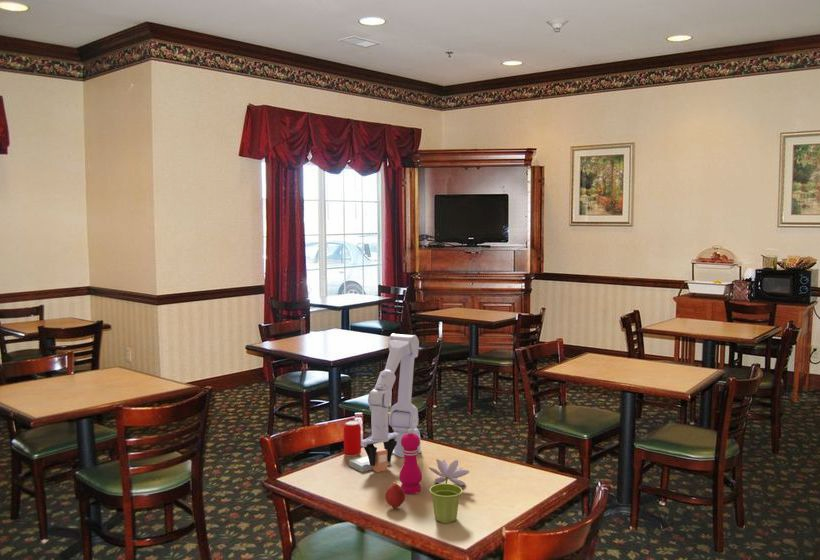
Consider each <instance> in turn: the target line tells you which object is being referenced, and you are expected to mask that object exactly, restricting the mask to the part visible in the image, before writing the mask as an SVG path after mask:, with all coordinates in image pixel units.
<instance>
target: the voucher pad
mask: <svg viewBox="0 0 820 560" xmlns="http://www.w3.org/2000/svg"><path fill="white" fill-rule="evenodd" d="M391 464H392V459H391V460H390V462H388V461H387V465H388V466H390V465H391ZM351 466H352V468H353V467H354V468H353V469H356V470H357V471H359V472H361V473H364V471H365V472H368V470H369V471H371V470H372V469H373V466H372V465H370V462H369V458H368V455H366V456H361V457H357V458H353V459H350V460H349V467H351Z"/></svg>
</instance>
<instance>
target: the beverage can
mask: <svg viewBox="0 0 820 560" xmlns="http://www.w3.org/2000/svg"><path fill="white" fill-rule="evenodd" d="M361 427H362V426H361V425H360V423H359V422H358V421H355V420H352V421H351V420H350V421H347V422H345V424H344V426H343V454H344V456H347V457H349V456H350V457H351V458H353V457H354V456H355V457H357V456H359V455H360V454H361V453H362V446H361V440H362V438H361V437H362V432H361V431H362V430H361V429H362V428H361ZM355 457H354V458H355Z"/></svg>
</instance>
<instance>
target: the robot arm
mask: <svg viewBox="0 0 820 560" xmlns="http://www.w3.org/2000/svg"><path fill="white" fill-rule="evenodd" d="M419 347H420V340H419V338H418V336H417V335H416V334H413V335H412V334H400V333H394V332H393V333H391V334H390V336H389V338H388V350H389V354H388V357H387V360H386V363H385V364H386V365H385V367H384V370H382V371H380V373H379V375H378V378H377V381H376V383H375V386H374V388H373V389H372V390H370V391H369V393H368V397H367V403H368V406H369V411H370V412H371V413H370V414H371V416H370V417H371V420H370V421H371V425H370V426H371V436H369V437H366V438H365V439H361V448H363V449H364V451H365V453H366V456H368V458H369V462H370V465H372V466H375V456H376V450H377V449H378V447H376V446H375V445H376V444H381V443H382V444H383V448H384V449H386V450H387V461H388V462H390V460H391V461H392V456H393V455H395V456H398V457H399V458H404V454H403V447H402V445H401V439H402V437H403V436H404V435H405V434H407V433H408V429H412V430H413V433H414V434H416V435H417V436H418V437H419V439H420V440H421V431H420V430H419V428H417V427H418V426H419V420H420V418H419V409H418V408H417V407H416V406H415V405H414V404H413V403H412V395H413V380H414V367H415V366H414V365H415V359H416V358H418V356H419V351H420V350H419ZM399 364H400V366H399ZM398 367H399V380H398V392H397V393H398V394H397V402H396V403H395V404H393V405H391V402H392V393H393V392H392V389H393V387H394V384H395V382H396V379H397V376H396V375H395V373H396V371H397V368H398ZM390 405H391V407H390V412H389V406H390ZM389 426H390V427H391V428H392V430H393V432H389ZM422 452H423V451H422V450H421V444H420V445H419V446H418V454H420V453H422Z"/></svg>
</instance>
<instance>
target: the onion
mask: <svg viewBox="0 0 820 560" xmlns="http://www.w3.org/2000/svg"><path fill="white" fill-rule="evenodd" d="M391 484H392V485H390V486H389V487H388V488H387V490H386V491H385V494H384V496H385V501H386V503H387V504H388V505H389V506H390V507H391V508H392V509H396V510H397V509H398V508H399V507H400V506H402V505H403V503H404V502H405V500H406V499H405V498H406V494H405V493H404V490H403V489H402V488H401V485H399V484H397V482H392V483H391Z"/></svg>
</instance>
